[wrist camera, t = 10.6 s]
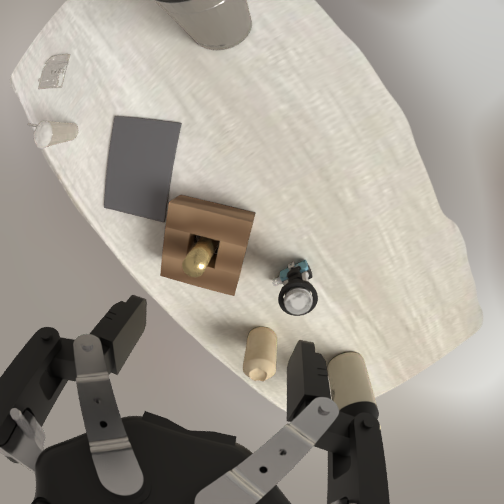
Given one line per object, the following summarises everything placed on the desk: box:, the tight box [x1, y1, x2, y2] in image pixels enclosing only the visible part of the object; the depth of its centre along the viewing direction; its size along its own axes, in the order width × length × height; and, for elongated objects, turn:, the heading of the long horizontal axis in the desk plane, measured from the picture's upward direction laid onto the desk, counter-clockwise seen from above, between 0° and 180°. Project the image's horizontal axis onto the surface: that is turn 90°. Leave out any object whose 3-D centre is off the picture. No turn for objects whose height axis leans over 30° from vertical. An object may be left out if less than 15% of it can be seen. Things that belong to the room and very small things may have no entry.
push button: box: [273, 260, 318, 316], centre depth 41 cm, size 7×5×10 cm
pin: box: [182, 236, 220, 277], centre depth 40 cm, size 3×3×10 cm
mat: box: [104, 116, 182, 222], centre depth 40 cm, size 16×12×1 cm
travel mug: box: [328, 352, 381, 430], centre depth 44 cm, size 8×8×18 cm
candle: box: [243, 327, 277, 381], centre depth 47 cm, size 6×6×10 cm
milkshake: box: [28, 121, 78, 149], centre depth 34 cm, size 4×5×10 cm
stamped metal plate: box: [38, 54, 71, 89], centre depth 33 cm, size 8×7×2 cm
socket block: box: [160, 195, 255, 296], centre depth 42 cm, size 12×12×5 cm
